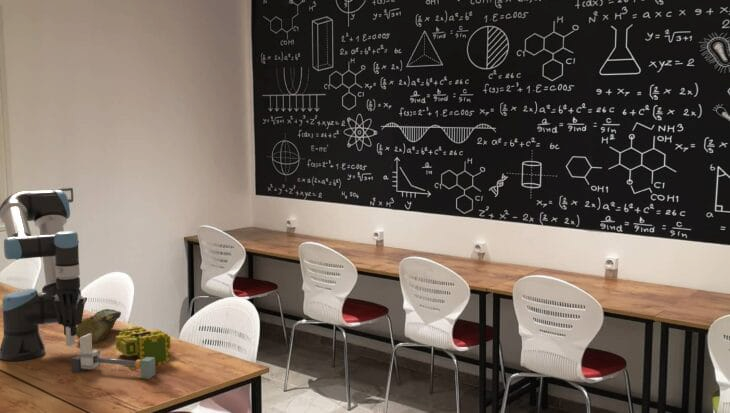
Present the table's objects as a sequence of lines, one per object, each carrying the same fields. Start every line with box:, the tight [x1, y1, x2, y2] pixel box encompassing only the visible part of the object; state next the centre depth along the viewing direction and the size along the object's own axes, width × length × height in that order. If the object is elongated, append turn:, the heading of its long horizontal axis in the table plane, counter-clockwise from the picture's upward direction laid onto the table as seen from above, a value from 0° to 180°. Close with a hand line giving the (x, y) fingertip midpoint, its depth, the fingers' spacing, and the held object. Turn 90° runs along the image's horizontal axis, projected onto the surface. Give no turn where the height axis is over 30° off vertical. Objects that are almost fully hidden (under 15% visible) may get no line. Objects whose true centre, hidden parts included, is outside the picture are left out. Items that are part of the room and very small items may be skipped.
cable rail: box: [70, 354, 156, 380], centre depth 251 cm, size 29×6×6 cm, turn 75°
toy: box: [115, 326, 172, 365], centre depth 272 cm, size 17×10×30 cm
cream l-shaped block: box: [79, 333, 101, 370], centre depth 253 cm, size 4×5×11 cm
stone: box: [75, 308, 122, 344], centre depth 294 cm, size 15×12×25 cm
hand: (70, 344), depth 255 cm, fingers closed
